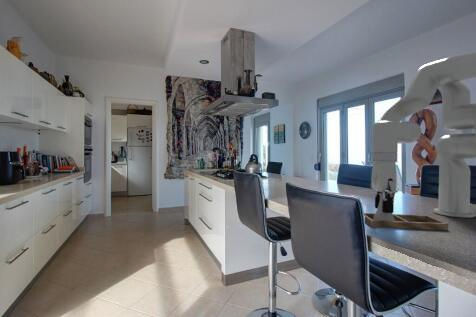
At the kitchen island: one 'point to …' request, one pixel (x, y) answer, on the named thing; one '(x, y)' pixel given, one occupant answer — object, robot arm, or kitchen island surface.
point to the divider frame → (407, 222)
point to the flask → (381, 215)
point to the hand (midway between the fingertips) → (383, 209)
